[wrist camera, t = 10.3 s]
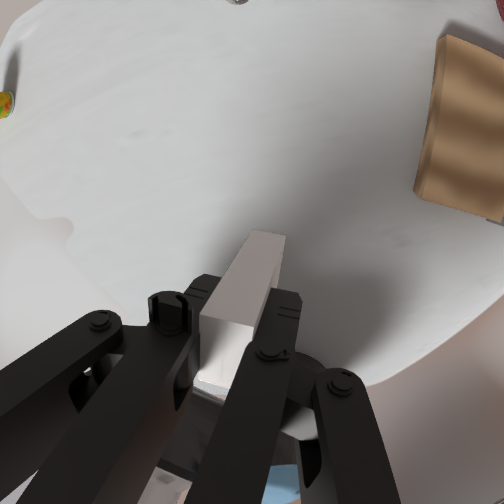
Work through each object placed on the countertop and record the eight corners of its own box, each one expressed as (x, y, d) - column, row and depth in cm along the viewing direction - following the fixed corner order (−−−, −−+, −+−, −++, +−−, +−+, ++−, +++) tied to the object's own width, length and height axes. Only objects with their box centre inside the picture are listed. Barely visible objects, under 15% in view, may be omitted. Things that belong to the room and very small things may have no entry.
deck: (488, 213, 34) (500, 222, 31) (413, 190, 36) (421, 199, 32) (513, 73, 26) (528, 72, 22) (436, 40, 27) (447, 34, 24)
